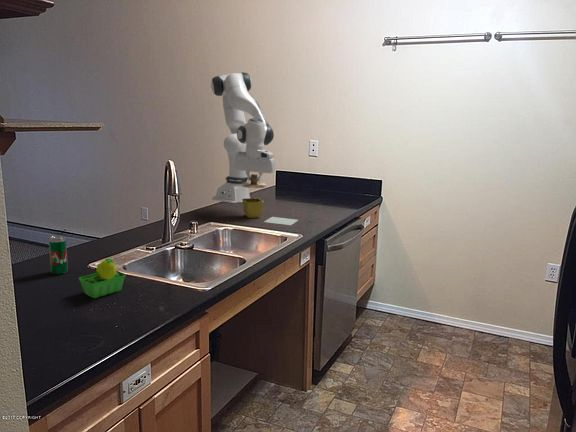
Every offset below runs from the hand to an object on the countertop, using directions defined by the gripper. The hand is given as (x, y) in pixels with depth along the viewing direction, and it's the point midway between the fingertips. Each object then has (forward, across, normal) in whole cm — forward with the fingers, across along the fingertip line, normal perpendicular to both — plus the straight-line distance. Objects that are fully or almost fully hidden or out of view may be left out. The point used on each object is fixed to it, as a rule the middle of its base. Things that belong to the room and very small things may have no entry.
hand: (254, 180), depth 241 cm
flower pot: (+19, 0, 0) cm, 19 cm away
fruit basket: (+19, -3, -109) cm, 111 cm away
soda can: (+19, -27, -101) cm, 106 cm away
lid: (+3, 0, 0) cm, 3 cm away
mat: (+18, +16, -2) cm, 25 cm away
